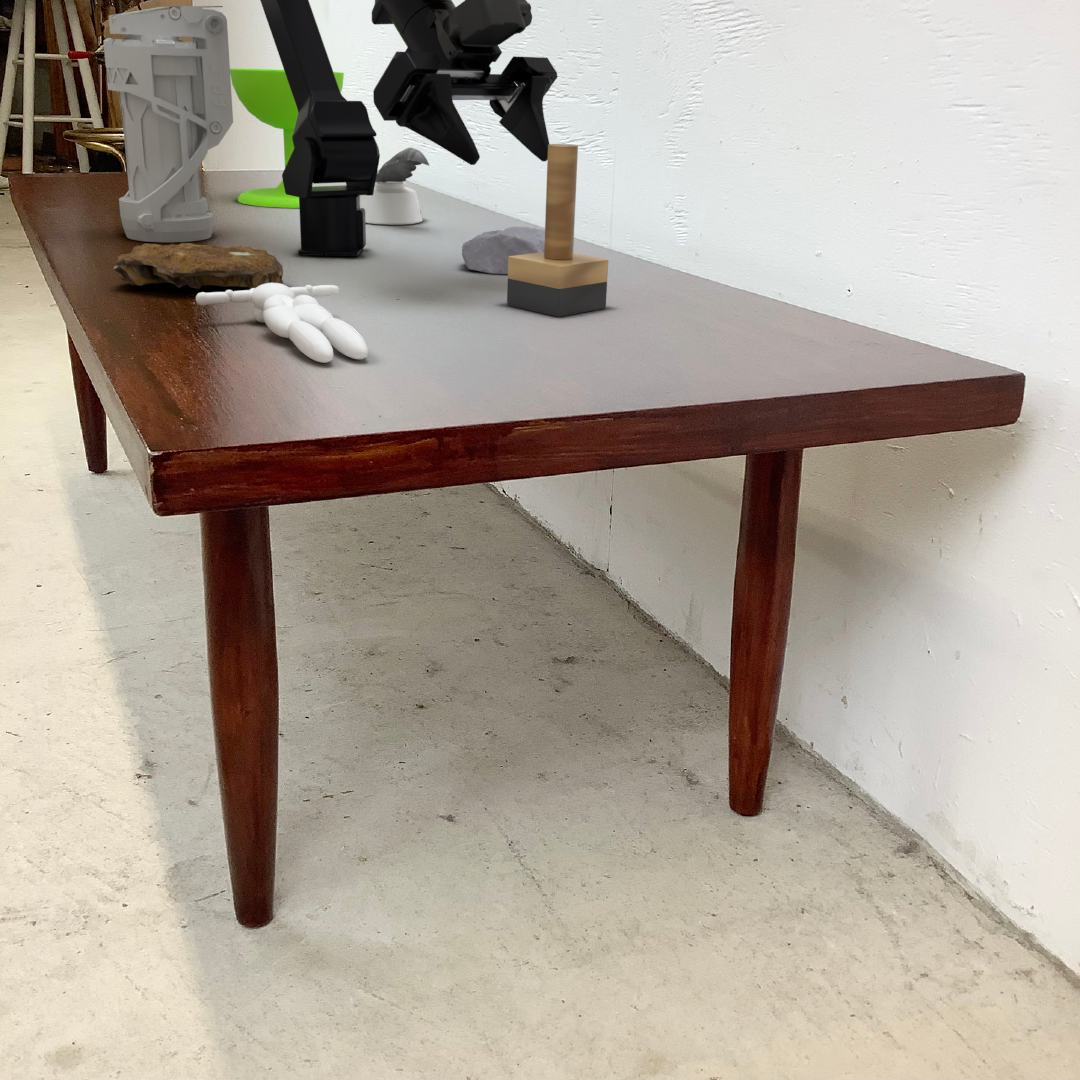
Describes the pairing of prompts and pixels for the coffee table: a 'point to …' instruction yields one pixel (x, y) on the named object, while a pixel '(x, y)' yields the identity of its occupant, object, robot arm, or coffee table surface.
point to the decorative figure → (297, 318)
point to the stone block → (501, 248)
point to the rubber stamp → (558, 252)
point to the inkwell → (394, 192)
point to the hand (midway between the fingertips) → (512, 159)
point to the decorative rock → (198, 266)
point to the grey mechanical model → (169, 115)
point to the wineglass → (270, 121)
